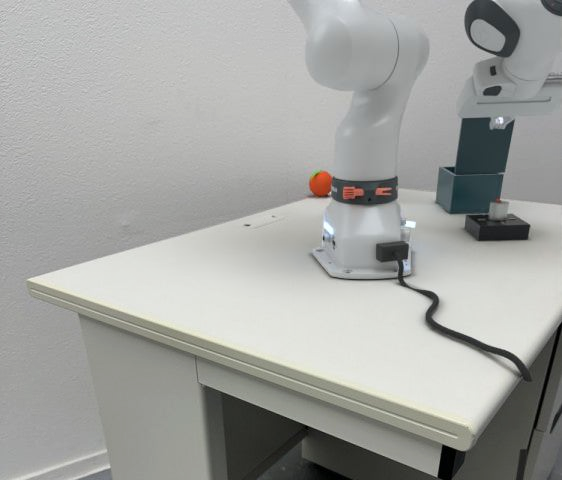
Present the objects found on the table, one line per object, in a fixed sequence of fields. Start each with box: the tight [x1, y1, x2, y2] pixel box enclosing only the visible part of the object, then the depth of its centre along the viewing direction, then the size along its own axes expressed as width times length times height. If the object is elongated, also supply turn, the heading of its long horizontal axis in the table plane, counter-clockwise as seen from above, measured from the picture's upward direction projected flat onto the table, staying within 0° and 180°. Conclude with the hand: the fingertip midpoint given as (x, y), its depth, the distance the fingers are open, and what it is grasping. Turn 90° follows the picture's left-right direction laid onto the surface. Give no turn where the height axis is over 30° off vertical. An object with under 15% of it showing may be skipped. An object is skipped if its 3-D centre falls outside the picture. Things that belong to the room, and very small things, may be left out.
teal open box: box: [435, 165, 505, 215], centre depth 136 cm, size 15×12×9 cm
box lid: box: [454, 117, 516, 174], centre depth 123 cm, size 16×12×1 cm
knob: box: [488, 198, 510, 221], centre depth 112 cm, size 4×4×4 cm
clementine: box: [308, 169, 333, 197], centre depth 154 cm, size 8×7×7 cm
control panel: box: [463, 213, 531, 242], centre depth 114 cm, size 10×10×3 cm
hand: (496, 126), depth 117 cm, fingers closed
